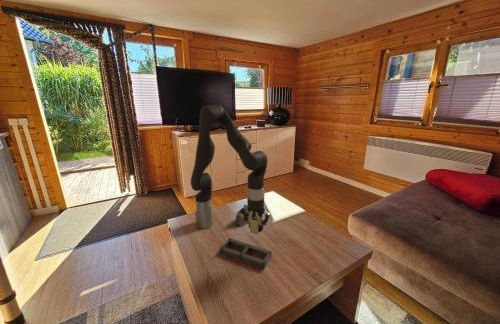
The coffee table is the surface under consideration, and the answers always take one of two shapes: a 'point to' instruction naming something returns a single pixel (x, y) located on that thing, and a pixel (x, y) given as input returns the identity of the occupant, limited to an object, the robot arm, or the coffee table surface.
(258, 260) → the dark grey rectangular tray
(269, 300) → the coffee table surface
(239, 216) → the hiking shoe
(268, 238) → the coffee table surface
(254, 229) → the block
